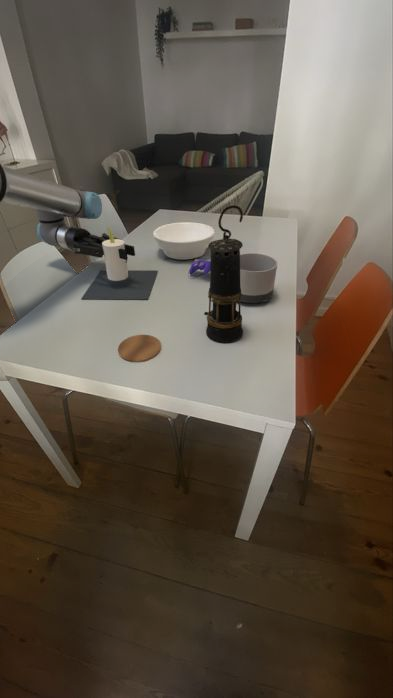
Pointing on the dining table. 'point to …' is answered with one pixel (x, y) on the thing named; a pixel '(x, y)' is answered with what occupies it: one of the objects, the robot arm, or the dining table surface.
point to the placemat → (122, 286)
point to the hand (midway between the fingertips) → (129, 253)
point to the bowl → (184, 239)
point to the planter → (257, 277)
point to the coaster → (139, 348)
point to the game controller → (200, 266)
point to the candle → (114, 258)
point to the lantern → (225, 288)
